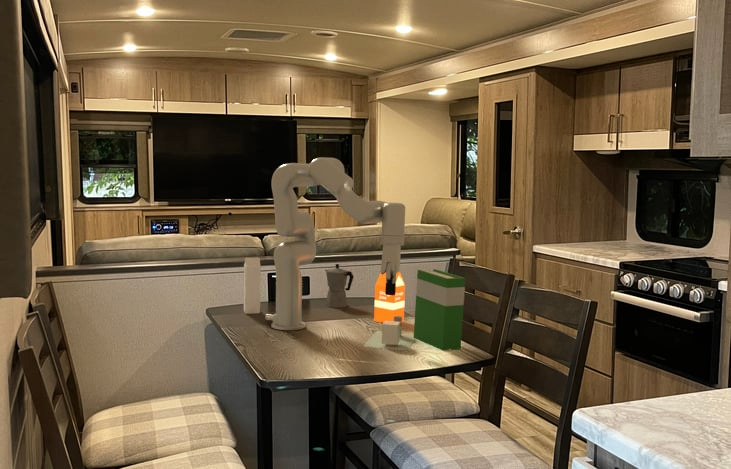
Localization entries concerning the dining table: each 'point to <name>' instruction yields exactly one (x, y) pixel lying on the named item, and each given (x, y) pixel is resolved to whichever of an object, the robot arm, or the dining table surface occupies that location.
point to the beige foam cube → (390, 332)
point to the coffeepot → (337, 287)
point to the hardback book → (439, 309)
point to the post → (399, 319)
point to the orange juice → (389, 300)
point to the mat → (402, 345)
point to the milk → (252, 285)
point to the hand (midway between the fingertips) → (390, 294)
